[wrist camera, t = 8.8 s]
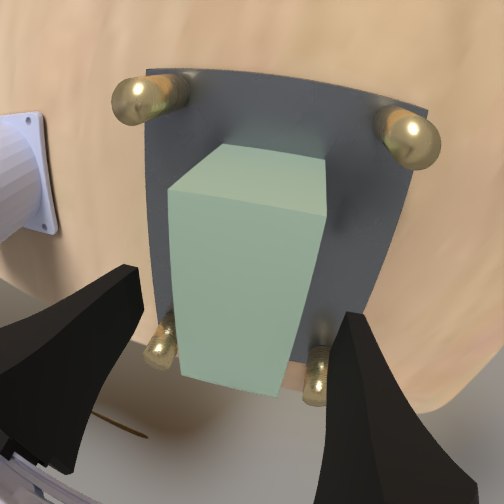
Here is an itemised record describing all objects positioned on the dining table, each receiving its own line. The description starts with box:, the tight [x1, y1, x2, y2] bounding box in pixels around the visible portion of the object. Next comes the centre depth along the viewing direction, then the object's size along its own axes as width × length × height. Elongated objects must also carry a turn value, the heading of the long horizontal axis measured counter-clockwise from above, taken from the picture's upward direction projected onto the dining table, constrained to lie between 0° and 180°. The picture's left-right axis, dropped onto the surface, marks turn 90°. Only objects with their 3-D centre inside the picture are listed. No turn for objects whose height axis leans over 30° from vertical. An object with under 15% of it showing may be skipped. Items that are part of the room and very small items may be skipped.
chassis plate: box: [111, 68, 441, 407], centre depth 13 cm, size 11×15×4 cm
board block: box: [168, 144, 327, 398], centre depth 12 cm, size 4×8×5 cm, turn 174°
